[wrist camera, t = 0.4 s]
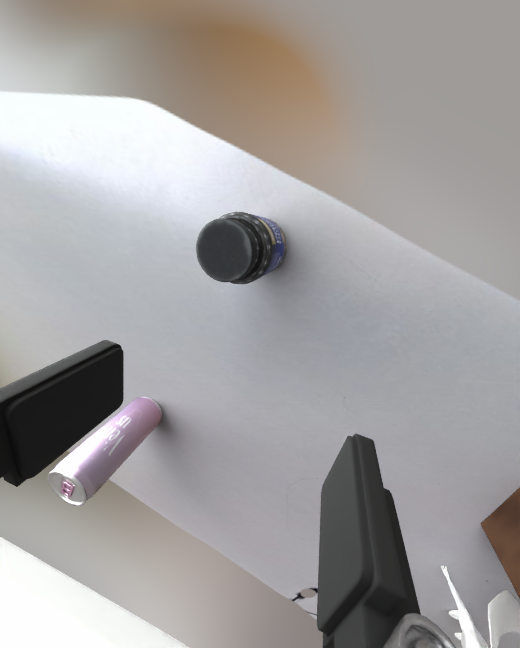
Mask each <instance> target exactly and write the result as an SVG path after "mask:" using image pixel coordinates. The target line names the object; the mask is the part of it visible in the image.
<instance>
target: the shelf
mask: <svg viewBox="0 0 520 648" xmlns="http://www.w3.org/2000/svg"><path fill="white" fill-rule="evenodd" d="M481 525H482V527H483V529H484V531H485V533H486V535H487V537H488V539H489V541H490V543H491V544H492V546H493V548H494V550H495V552H496V554H497V556H498V558H499V560H500V562H501V564H502V566H503V567H504V569H505V571H506V573H507V575H508V577H509V579H510V581H511V583H512V585H513V587H514V589H515V591H516V592H517V594H518V596H519V598H520V488H519V489H518V490H517V491H516V492H515V493H513V494H512V495H511V496H510V497H509V498H508V499H507V500H506V501H505V502H504V503H503V504H502V505H501V506H500V507H498V508H497V509H496V510H495V511H494V512H493V513H492V514H491V515H490V516H489V517H488V518H487V519H486V520H485V521H484V522H482V523H481Z"/></svg>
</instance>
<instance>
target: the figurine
mask: <svg viewBox="0 0 520 648" xmlns="http://www.w3.org/2000/svg"><path fill="white" fill-rule="evenodd" d="M442 566H443V568H442ZM442 566H441V569H442V571H443V573H444V575H445V577H446V579H447V581H448V584H449V587H450V590H451V592H452V595H453V597H454V599H455V602H456V604H457V607H458V610H451V611H449V615H450V616H451V617H453V618H455V619H458V620H459V621H460V625H461V629H462V633H455V637H456V638H458V639H459V640H460V641H461V643H462V648H489V647H488V645H487V643H486V641H485V640H484V639H483V637H482V636H481V635H480V633H479V632H478V630H477V629H476V628H475V625H474V623H473V620H472V617H471V615H470V614H469V613H468V612H467V610H466V608H465V606H464V604H463V602H462V600H461V599H460V597H459V595H458V593H457V591H456V589H455V587H454V585H453V584H452V582H451V580H450V578H449V574H448V571H447V567H446V566H445V568H444V565H442ZM443 569H444V570H443ZM445 569H446V570H445ZM488 623H489V631H490V647H491V648H498V644H499V642H500V639H501V637H502V635H504V634H506V633H508V632H518V633H519V634H520V606H519V603H518V602H517V601H516V600H515V598H514V597H513V596H512V595H511V594H510V592H509V591H508V590H505V591H502V592H501V593H499V594H498V595H497V596H495V598H494V599H493V600H492V601H491V602H490V603H489V604H488Z"/></svg>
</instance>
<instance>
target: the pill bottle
mask: <svg viewBox="0 0 520 648" xmlns="http://www.w3.org/2000/svg"><path fill="white" fill-rule="evenodd" d="M196 253H197V258H198V261H199V263H200V265H201V267H202V269H203V270H204V271H205V272H206V274H208V275H209V276H210V277H211V278H213V279H215V280H217V281H221V282H230V283H234V284H247V283H250V282H252V281H254V280H256V279H258V278H260V277H261V276H263V275H265V274H267V273H268V272H270V271H272V270H274V269H275V268H277V267H278V265H279V264H280V263H281V262H282V260H283V258H284V256H285V253H286V240H285V235H284V233H283V231H282V229H281V228H280V227H279V226H278V225H277V224H276V223H275V222H273V221H271V220H269V219H266V218H263V217H259V216H255V215H251V214H248V213H244V212H233V213H229V214H226V215H224V216H222V217H220V218H219V219H216V220H213V221H211V222H209V223H208V224H207V225H206V226H205V227H204V228H203V229H202V230H201V232H200V234H199V236H198V239H197V244H196Z"/></svg>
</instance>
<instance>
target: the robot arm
mask: <svg viewBox="0 0 520 648" xmlns="http://www.w3.org/2000/svg"><path fill="white" fill-rule="evenodd" d="M122 402H123V350H122V349H121V346H120V345H119V344H116V343H113V342H111V341H108V340H104V341H101V342H99V343H97V344H95V345H93V346H90V347H88V348H86V349H84V350H82V351H80V352H78V353H75V354H73V355H71V356H69V357H67V358H65V359H63V360H60V361H58V362H56V363H54V364H52V365H50V366H47V367H45V368H43V369H41V370H39V371H37V372H35V373H32V374H30V375H28V376H26V377H24V378H22V379H20V380H17V381H15V382H13V383H11V384H9V385H7V386H5V387H2V388H0V478H1V477H3V478H4V480H5V481H7V482H9V483H11V484H13V485H15V486H16V487H18V486H19V485H20V484H21V483H23V482H24V481H25V480H26V479H29V478H32V477H34V476H36V475H37V474H38V473H40V472H41V471H42V470H43V469H44V468H46V467H47V466H48V465H49V464H51V463H52V462H53V461H54V460H55V459H57V458H58V457H59V456H60V455H62V454H63V453H64V452H65V451H66V450H68V449H69V448H70V447H71V446H73V445H74V444H75V443H76V442H77V441H79V440H80V439H81V438H82V437H84V436H85V435H86V434H87V433H88V432H90V431H91V430H92V429H93V428H95V427H96V426H97V425H98V424H99V423H101V422H102V421H103V420H104V419H106V418H107V417H108V416H109V415H111V414H112V413H113V412H114V411H115V410H117V409H118V408H119V407H120V406H121V404H122ZM317 626H318V630H319V631H321V632H323V648H456V647H455V646H454V644H453V643H452V641H451V640H450V638H449V637H448V636H447V635H446V634H445V633H444V632H443V631H442V630H441V629H440V628H439V627H438V626H437V625H436V624H435V623H433V622H432V621H431V620H429V619H428V618H427V617H425V616H422V615H421V614H420V609H419V605H418V601H417V597H416V593H415V588H414V584H413V580H412V576H411V572H410V567H409V563H408V559H407V555H406V551H405V546H404V542H403V538H402V534H401V530H400V525H399V521H398V517H397V513H396V509H395V504H394V500H393V497H392V494H391V493H390V491H389V490H387V489H385V488H383V483H382V478H381V473H380V469H379V464H378V459H377V454H376V450H375V445H374V441H373V440H372V439H369V438H366V437H364V436H361V435H358V434H355V435H354V436H353V437H351V436H348V437H347V439H346V441H345V443H344V445H343V446H342V448H341V450H340V452H339V454H338V456H337V458H336V460H335V462H334V464H333V466H332V468H331V470H330V472H329V474H328V476H327V478H326V480H325V482H324V484H323V487H322V492H321V517H320V545H319V574H318V603H317ZM0 648H190V647H189V646H187V645H185V644H183V643H181V642H180V641H178V640H177V639H175V638H173V637H172V636H170V635H168V634H167V633H165V632H163V631H161V630H160V629H158V628H156V627H154V626H153V625H151V624H150V623H148V622H146V621H144V620H143V619H141V618H139V617H138V616H136V615H134V614H132V613H131V612H129V611H127V610H126V609H124V608H122V607H121V606H119V605H117V604H116V603H114V602H112V601H110V600H108V599H107V598H105V597H103V596H102V595H100V594H98V593H96V592H95V591H93V590H91V589H90V588H88V587H86V586H84V585H83V584H81V583H79V582H78V581H76V580H74V579H73V578H71V577H69V576H67V575H66V574H64V573H62V572H60V571H58V570H57V569H55V568H54V567H52V566H50V565H48V564H47V563H45V562H43V561H42V560H40V559H38V558H36V557H35V556H33V555H31V554H29V553H27V552H26V551H24V550H22V549H21V548H19V547H17V546H15V545H14V544H12V543H10V542H8V541H7V540H5V539H3V538H2V537H0Z"/></svg>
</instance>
